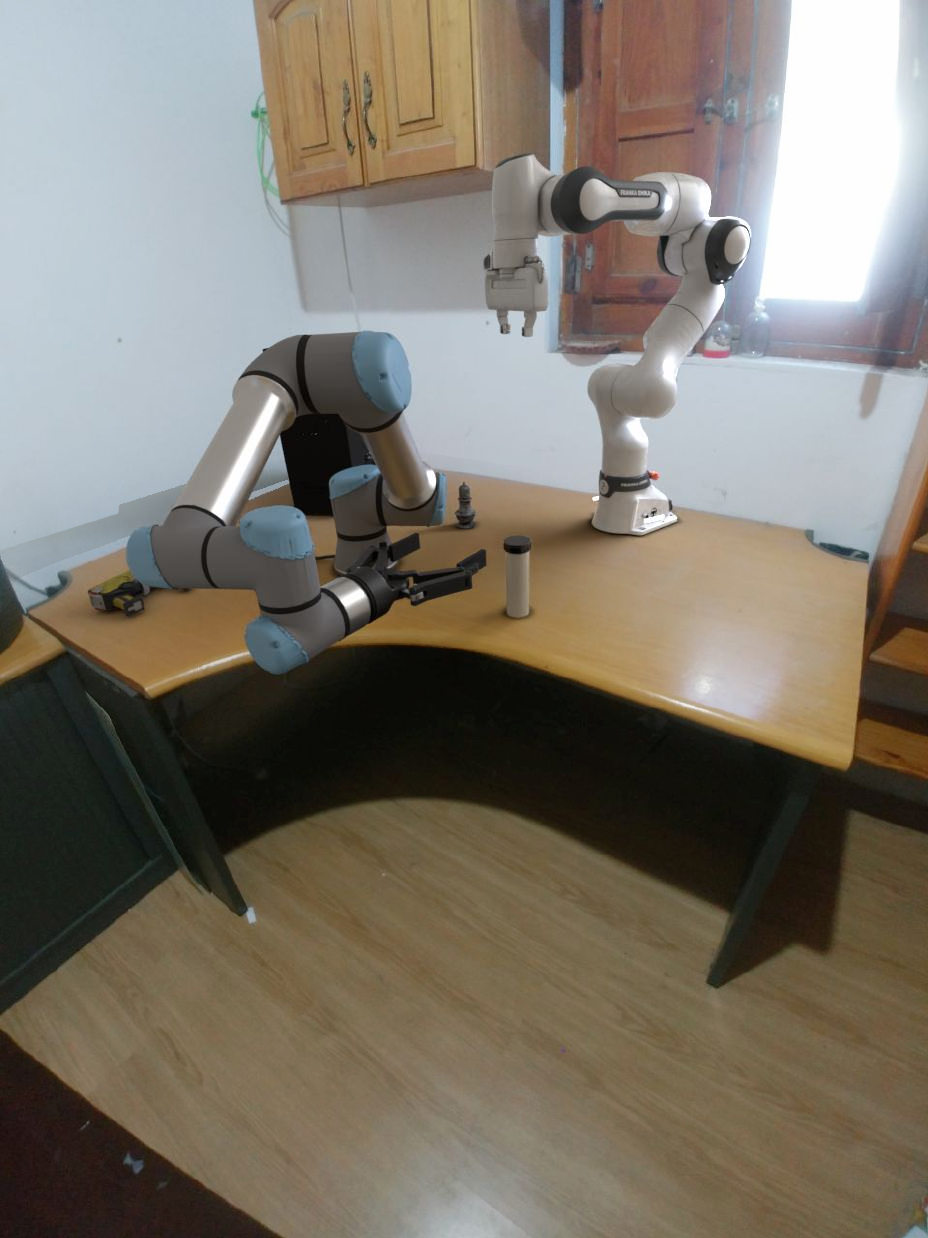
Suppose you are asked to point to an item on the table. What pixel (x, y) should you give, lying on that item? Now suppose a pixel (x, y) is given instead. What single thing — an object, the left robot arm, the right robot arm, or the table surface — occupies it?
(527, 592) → the jar
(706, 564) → the table surface
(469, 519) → the grey chess piece
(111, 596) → the toy gun
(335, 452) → the black computer case
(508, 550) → the lid
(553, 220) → the right robot arm
